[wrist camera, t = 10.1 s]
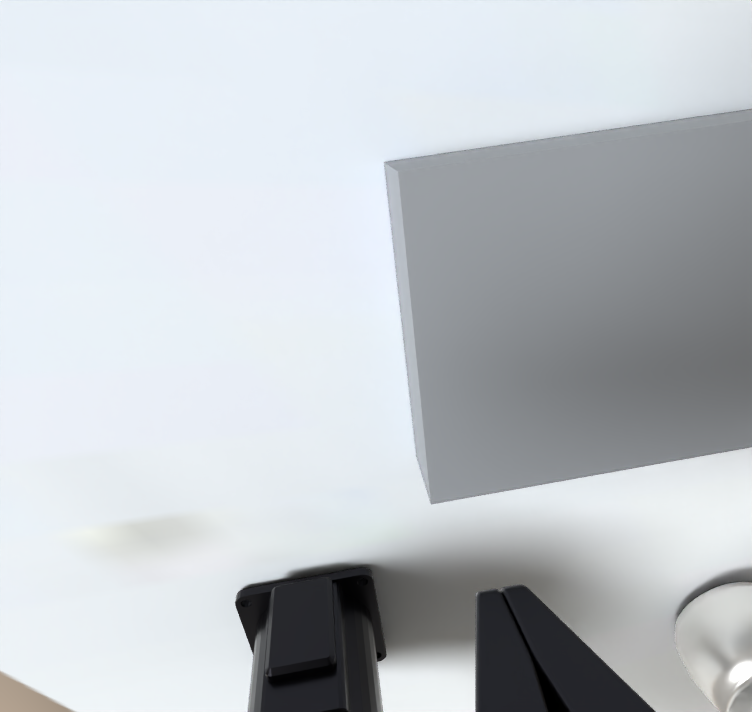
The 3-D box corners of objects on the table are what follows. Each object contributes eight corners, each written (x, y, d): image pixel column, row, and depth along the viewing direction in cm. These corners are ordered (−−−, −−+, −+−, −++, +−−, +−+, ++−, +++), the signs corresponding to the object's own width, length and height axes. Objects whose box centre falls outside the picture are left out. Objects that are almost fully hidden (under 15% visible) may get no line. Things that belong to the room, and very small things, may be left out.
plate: (725, 402, 23) (781, 441, 20) (416, 456, 22) (431, 504, 19) (788, 103, 17) (876, 102, 15) (383, 162, 17) (398, 171, 14)
